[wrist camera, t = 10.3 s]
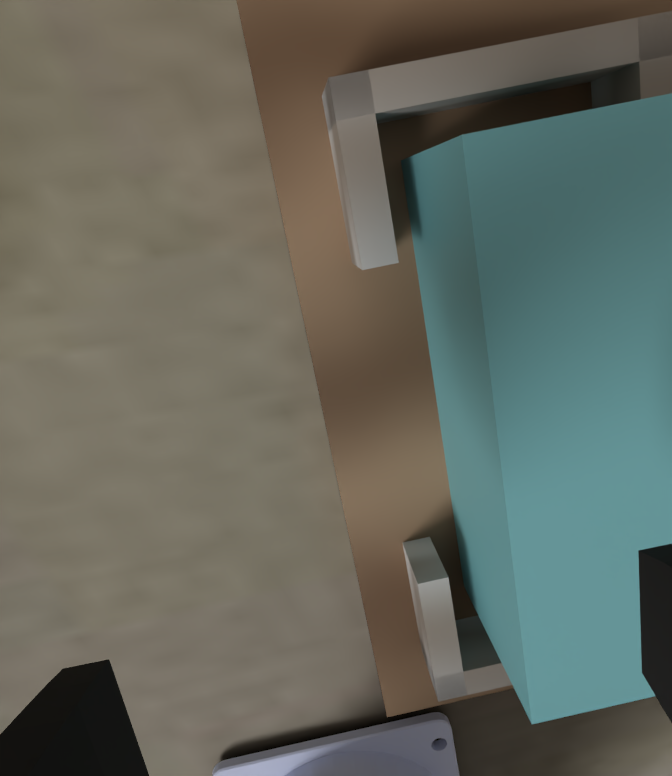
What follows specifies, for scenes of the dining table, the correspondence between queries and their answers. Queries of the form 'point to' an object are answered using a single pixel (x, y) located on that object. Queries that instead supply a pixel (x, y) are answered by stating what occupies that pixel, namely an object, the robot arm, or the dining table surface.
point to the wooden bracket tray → (411, 258)
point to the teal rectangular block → (554, 383)
